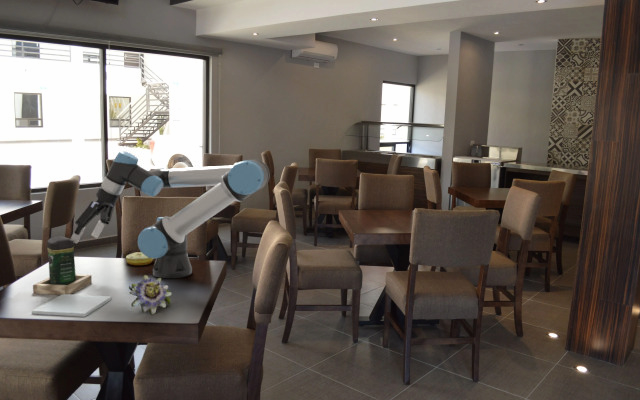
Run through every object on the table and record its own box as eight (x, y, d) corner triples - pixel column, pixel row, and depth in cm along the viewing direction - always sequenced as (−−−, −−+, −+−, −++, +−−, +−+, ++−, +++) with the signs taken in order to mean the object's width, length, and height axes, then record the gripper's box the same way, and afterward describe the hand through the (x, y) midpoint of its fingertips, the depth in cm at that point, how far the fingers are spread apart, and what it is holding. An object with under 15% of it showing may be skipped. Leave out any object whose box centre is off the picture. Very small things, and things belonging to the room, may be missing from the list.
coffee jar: (79, 288, 186) (76, 237, 183) (55, 293, 181) (51, 241, 178) (70, 282, 193) (67, 233, 190) (47, 286, 188) (43, 236, 185)
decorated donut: (153, 259, 233) (152, 250, 233) (154, 265, 222) (154, 256, 222) (126, 260, 229) (125, 251, 228) (126, 267, 218) (126, 257, 218)
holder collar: (91, 282, 194) (91, 275, 193) (69, 295, 179) (69, 286, 179) (58, 281, 195) (58, 273, 194) (33, 293, 180) (32, 284, 180)
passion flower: (153, 332, 164) (133, 305, 156) (134, 315, 172) (114, 289, 164) (184, 304, 170) (166, 277, 162) (164, 289, 178) (146, 263, 169)
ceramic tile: (111, 299, 176) (111, 296, 176) (84, 316, 159) (84, 313, 159) (63, 296, 177) (63, 294, 177) (31, 313, 160) (31, 310, 160)
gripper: (118, 184, 206) (94, 230, 208) (82, 186, 181) (55, 237, 183) (134, 194, 205) (109, 239, 207) (100, 197, 180) (72, 248, 183)
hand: (84, 239), depth 195 cm, fingers open, 13 cm apart
